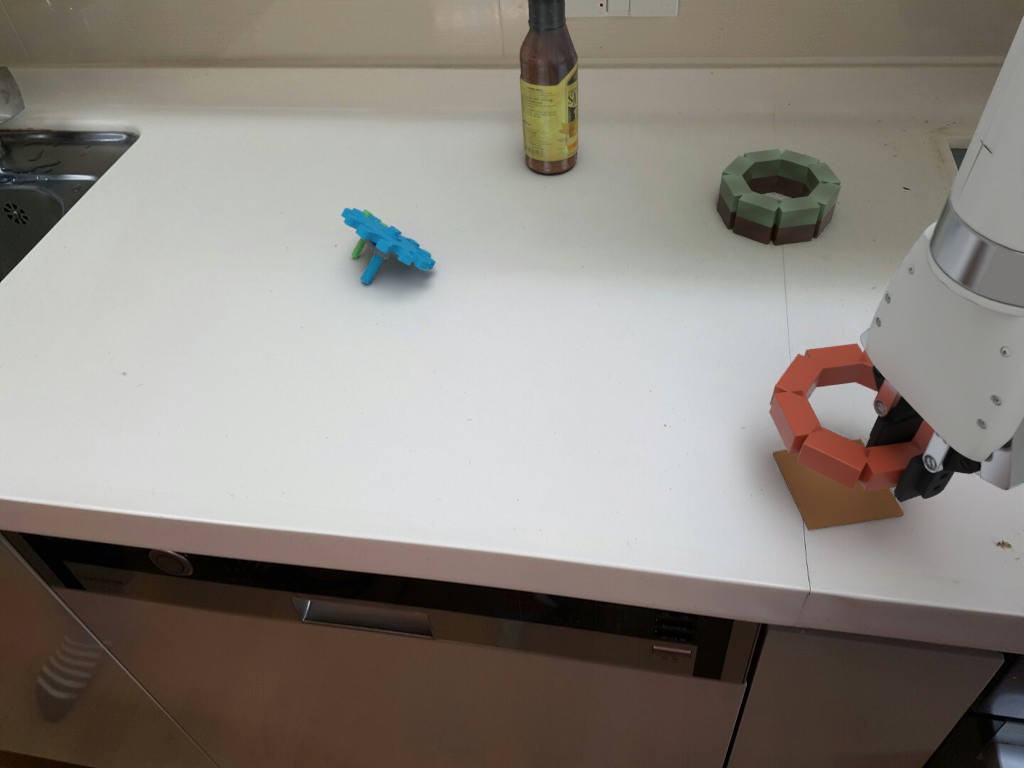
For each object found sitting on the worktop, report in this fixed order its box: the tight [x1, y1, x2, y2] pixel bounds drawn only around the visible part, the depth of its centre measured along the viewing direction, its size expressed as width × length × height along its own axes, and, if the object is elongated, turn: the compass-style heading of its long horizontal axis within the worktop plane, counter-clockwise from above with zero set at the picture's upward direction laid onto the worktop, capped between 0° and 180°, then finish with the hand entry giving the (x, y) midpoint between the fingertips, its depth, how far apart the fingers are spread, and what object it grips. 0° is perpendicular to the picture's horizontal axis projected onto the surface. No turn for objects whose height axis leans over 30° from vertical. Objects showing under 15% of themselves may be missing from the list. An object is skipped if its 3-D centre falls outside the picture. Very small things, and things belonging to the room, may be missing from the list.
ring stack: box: [716, 148, 842, 246], centre depth 81 cm, size 11×11×4 cm
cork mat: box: [772, 438, 905, 531], centre depth 58 cm, size 7×7×1 cm
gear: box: [340, 207, 437, 285], centre depth 77 cm, size 11×6×10 cm
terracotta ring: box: [768, 342, 935, 491], centre depth 53 cm, size 11×11×2 cm
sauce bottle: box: [519, 0, 579, 175], centre depth 84 cm, size 7×6×20 cm
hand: (900, 471), depth 51 cm, fingers closed on terracotta ring, 2 cm apart
